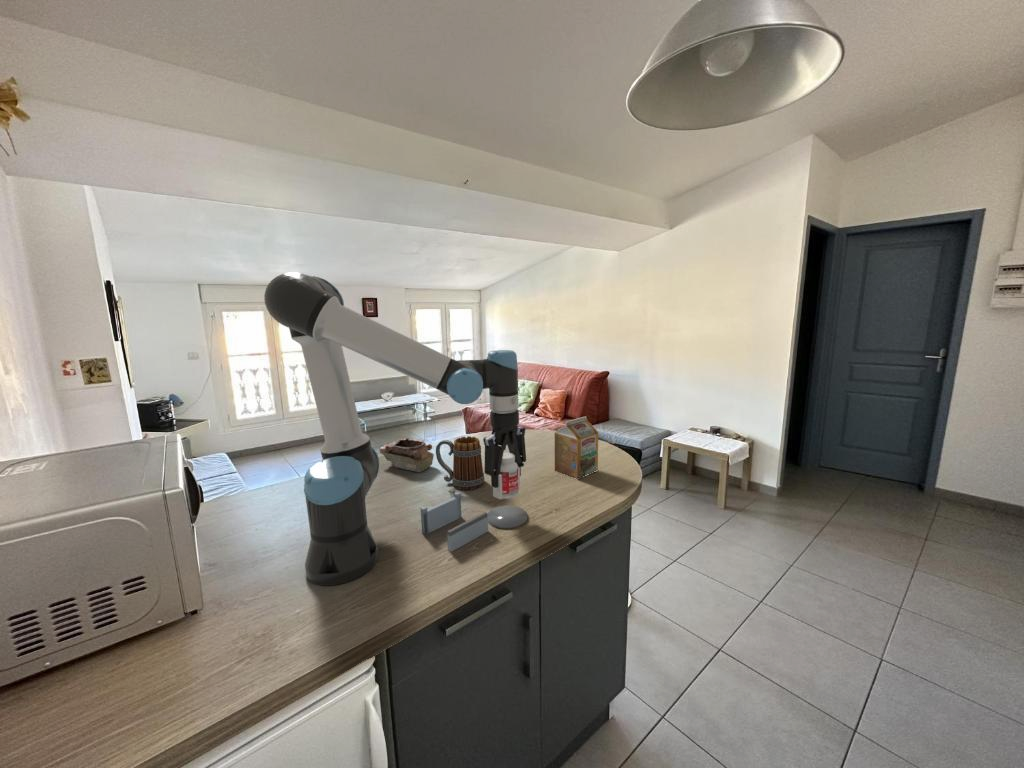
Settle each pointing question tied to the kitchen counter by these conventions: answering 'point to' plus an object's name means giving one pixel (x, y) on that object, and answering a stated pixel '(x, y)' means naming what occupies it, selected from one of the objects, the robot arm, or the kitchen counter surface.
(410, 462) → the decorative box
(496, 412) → the robot arm
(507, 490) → the pill bottle
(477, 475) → the mug
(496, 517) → the coaster
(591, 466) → the milk carton
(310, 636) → the kitchen counter surface
